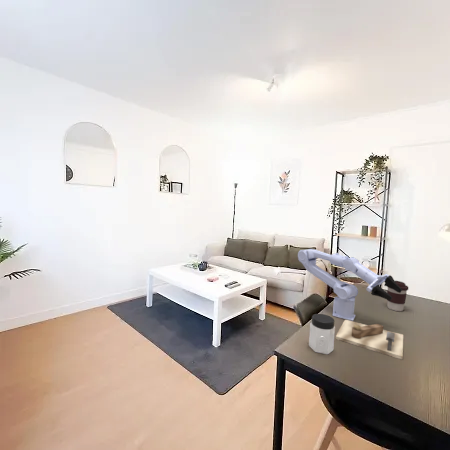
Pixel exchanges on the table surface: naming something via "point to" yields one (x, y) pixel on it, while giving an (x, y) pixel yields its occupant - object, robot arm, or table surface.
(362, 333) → the brown long round-headed piece
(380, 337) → the plate
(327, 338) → the jar
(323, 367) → the table surface
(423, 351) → the table surface
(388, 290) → the coffee cup
